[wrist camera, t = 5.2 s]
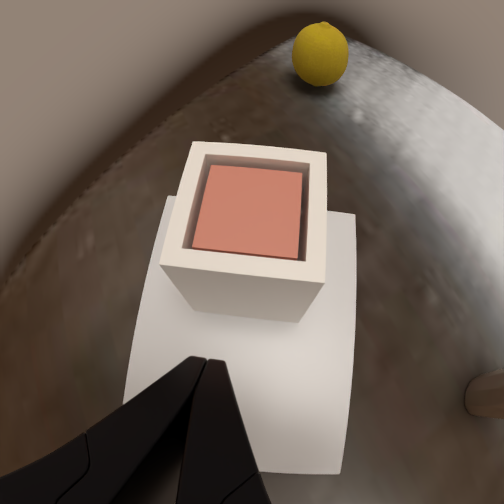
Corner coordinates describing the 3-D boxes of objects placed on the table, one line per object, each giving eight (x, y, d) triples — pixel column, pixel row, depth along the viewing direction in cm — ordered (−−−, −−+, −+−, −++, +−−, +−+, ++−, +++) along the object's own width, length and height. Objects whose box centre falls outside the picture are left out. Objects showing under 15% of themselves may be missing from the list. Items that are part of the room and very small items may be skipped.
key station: (336, 471, 16) (388, 518, 8) (122, 441, 17) (48, 463, 9) (352, 219, 23) (391, 140, 15) (170, 201, 24) (137, 119, 16)
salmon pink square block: (290, 281, 16) (297, 258, 13) (202, 271, 16) (192, 246, 13) (295, 206, 18) (302, 173, 15) (217, 198, 18) (211, 164, 15)
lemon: (351, 93, 30) (366, 32, 22) (310, 106, 28) (321, 38, 21) (319, 67, 31) (328, 9, 24) (279, 78, 30) (282, 15, 23)
